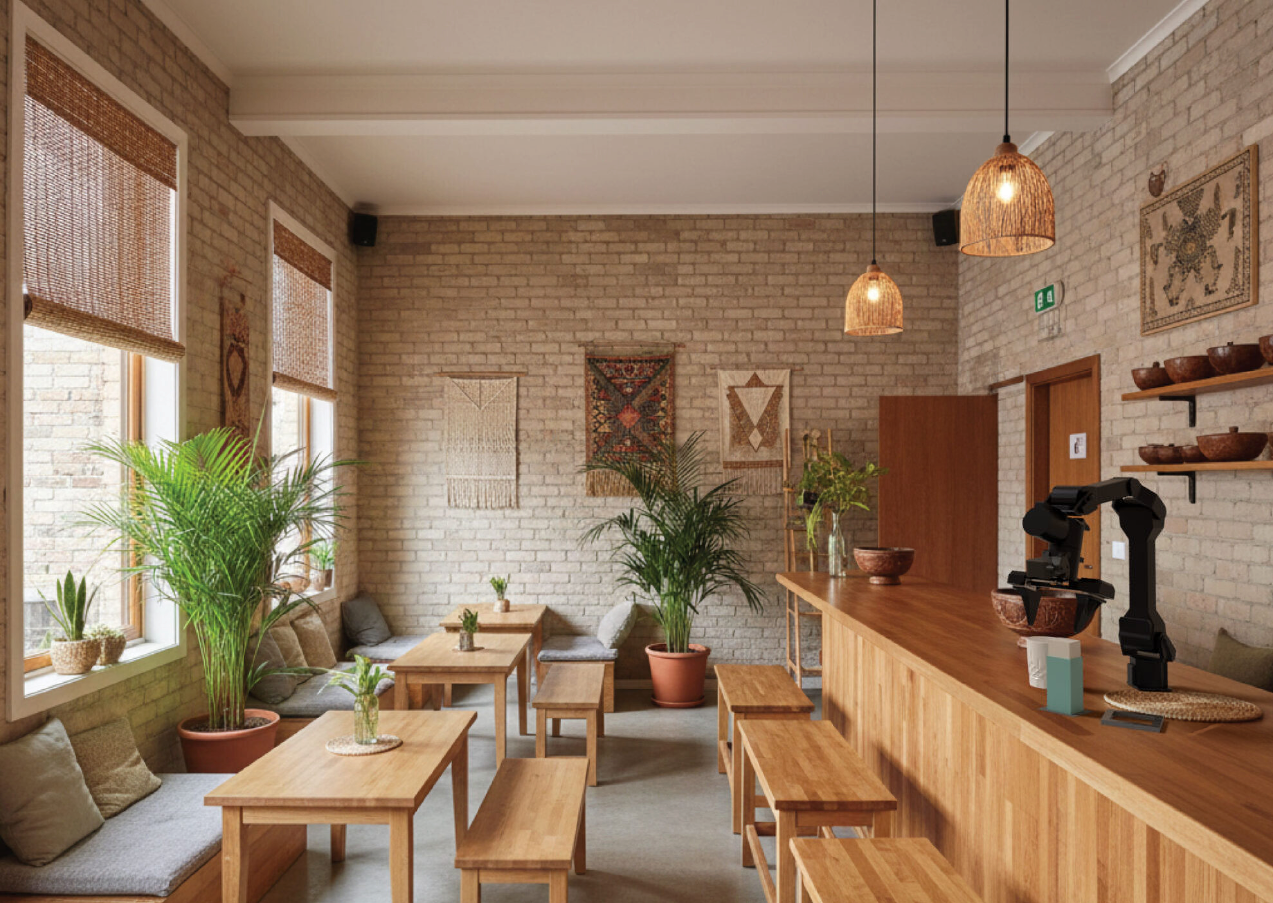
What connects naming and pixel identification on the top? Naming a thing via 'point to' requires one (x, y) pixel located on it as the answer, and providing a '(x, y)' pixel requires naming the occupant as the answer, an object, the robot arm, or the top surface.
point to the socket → (1131, 725)
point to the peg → (1064, 676)
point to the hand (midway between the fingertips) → (1052, 629)
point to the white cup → (1037, 660)
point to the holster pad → (1067, 714)
